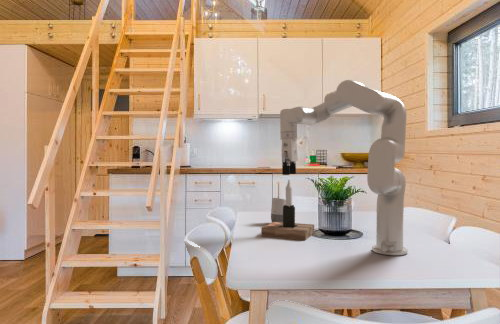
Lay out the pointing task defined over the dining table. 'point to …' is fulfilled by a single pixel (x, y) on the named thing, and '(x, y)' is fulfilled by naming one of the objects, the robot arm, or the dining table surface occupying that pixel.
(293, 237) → the holder
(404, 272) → the dining table surface
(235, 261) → the dining table surface
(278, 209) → the smart speaker
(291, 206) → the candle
